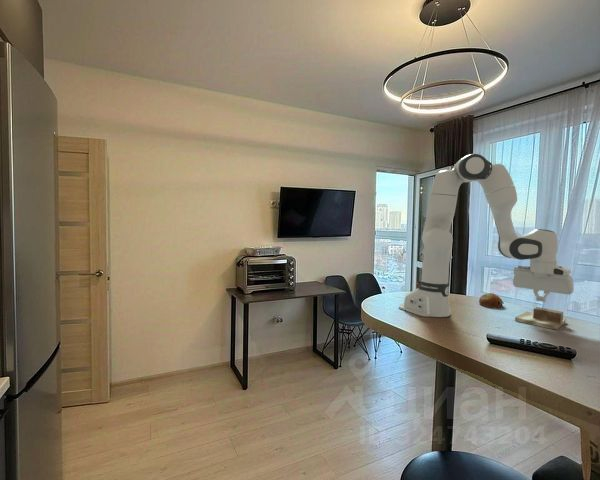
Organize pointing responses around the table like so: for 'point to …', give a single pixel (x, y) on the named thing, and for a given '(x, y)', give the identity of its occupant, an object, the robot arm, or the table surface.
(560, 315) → the walnut block
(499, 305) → the bread roll
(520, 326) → the table surface
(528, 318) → the board
